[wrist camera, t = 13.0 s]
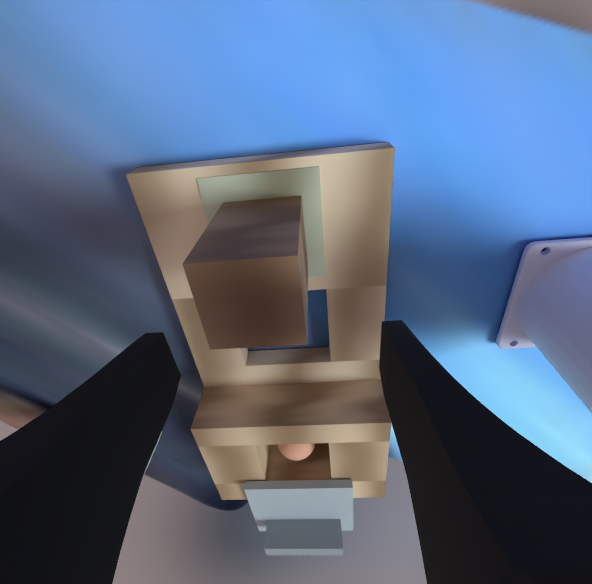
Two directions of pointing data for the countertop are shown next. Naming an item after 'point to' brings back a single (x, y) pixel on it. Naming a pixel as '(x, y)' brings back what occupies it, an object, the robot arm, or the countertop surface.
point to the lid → (302, 514)
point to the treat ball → (296, 450)
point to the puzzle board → (288, 362)
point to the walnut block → (252, 275)
